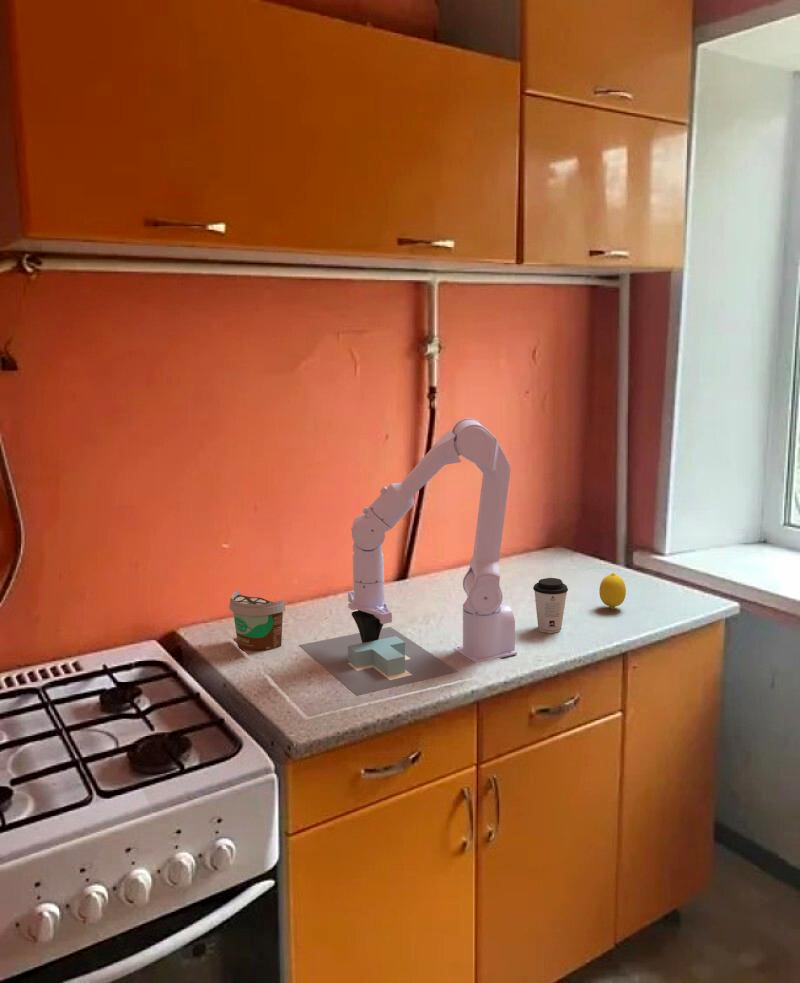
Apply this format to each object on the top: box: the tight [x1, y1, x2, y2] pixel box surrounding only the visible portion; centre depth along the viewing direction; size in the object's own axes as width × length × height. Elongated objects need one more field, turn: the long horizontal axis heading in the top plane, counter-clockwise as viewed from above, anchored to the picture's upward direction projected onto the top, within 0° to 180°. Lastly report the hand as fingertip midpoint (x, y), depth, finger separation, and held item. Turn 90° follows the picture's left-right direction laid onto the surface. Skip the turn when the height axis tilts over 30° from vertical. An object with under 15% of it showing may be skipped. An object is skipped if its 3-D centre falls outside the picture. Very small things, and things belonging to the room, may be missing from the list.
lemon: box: [599, 572, 627, 610], centre depth 190 cm, size 6×6×8 cm
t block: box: [348, 636, 405, 676], centre depth 161 cm, size 10×10×3 cm
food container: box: [228, 590, 286, 652], centre depth 170 cm, size 12×6×10 cm, turn 56°
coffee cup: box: [532, 577, 569, 634], centre depth 179 cm, size 7×7×10 cm
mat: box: [298, 626, 458, 696], centre depth 165 cm, size 20×26×1 cm
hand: (370, 648), depth 166 cm, fingers closed
